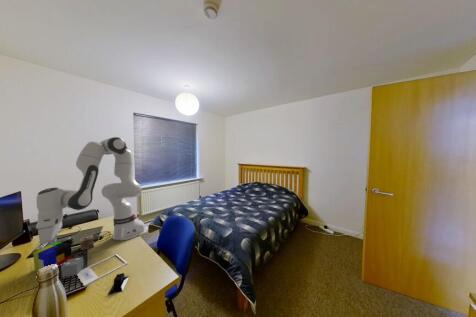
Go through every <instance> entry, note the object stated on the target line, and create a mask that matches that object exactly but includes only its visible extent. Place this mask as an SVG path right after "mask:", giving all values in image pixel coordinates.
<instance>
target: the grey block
mask: <svg viewBox="0 0 476 317" xmlns="http://www.w3.org/2000/svg"><path fill="white" fill-rule="evenodd" d="M84 266H85V264H84V256H81V257H76V258H72V259H69V260H68V261H67V262H66V263H65V264H64V265H63V266H61V267H60V269H61V270H60V271H61V278H62V277H65V276H72V277H74V276H73V275H77V274H78V273H79V272H80V271H81V270H82V269H84V268H85V267H84ZM83 267H84V268H83Z"/></svg>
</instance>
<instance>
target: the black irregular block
mask: <svg viewBox="0 0 476 317" xmlns="http://www.w3.org/2000/svg"><path fill="white" fill-rule="evenodd" d="M129 279H130V275H128V276H125V273H124V272H122V273H117V274H116V275H115V277H114V279H113V284H112V286H111V288H110V290H109V291H108V293H107V295H114V294H117V293H120V292H123V291H124V290H125V289H124V288H125V287H126V285H127V283H128V280H129Z"/></svg>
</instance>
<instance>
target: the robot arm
mask: <svg viewBox="0 0 476 317" xmlns="http://www.w3.org/2000/svg"><path fill="white" fill-rule="evenodd" d="M104 155H113V156H114V168H113V170H114V171H113V173H114V176H115V177H117V178H119V180H120V182H112V183H107V184H105V185H104V186H103V187H102V188H101V195H102V197H103V198H105V199H106V200H108V201H109V202H110V204H111V206H112V209H113V222H112V223H113V234H112V236H111V237H112V239H113V240H115V241H122V242H123V241H126V240H130V239H133V238H136V237H139V236H141V235H145V234H147V233H148V232H149V227H148V226H147V225H145V222H144V221H143V220H140V219H139V218H137V215H136V214H135V213H133V205H132V203H131V202H129V201H128V200H126V199H130V198H131V199H132V198H135V197H139V196H140V195H141V194H142V191H143V190H142V189H143V188H142V185H141V184H140V183H139V182H137V181H136V179H135V177H134V174H133V173H134V172H133V170H134V168H133V164H134V159H133V153H132V151H131V150H129V149H128V146H127V144H126V141H125V140H124V139H123V138H121V137H118V136H117V137H116V136H114V137H110V138H106V139H104V140H102V141H100V142H99V141H89V142H87V143H86V144H85V145H84V147H83V148H82V150H81V151H80V153H79V155H78V156H77V159H76V162H75V165H76V167H77V169H78V170H79V171H80V172H82V174H83V175H82V176H83V177H82V179H81V182H80V186H79V188H78V190H72V189H70V190H69V189H62V188H59V187H50V188H45V189H43V190H41V191H39V192H38V193H37V195H36V209H37V210H38V214H37V223H36V225H35V229H36V230H37V233H38V238H39V243H41V244H48V243H50V244H49V245H51V244H54V243H56V242H58V240H57V239H58V238H57V237H58V233H60V230H61V229H62V228H63V220H64V212H63V211H64V210H63V209H65V208H69V209H71V210H72V209H73V210H75V211H80V210H81V211H82V210H85V209H87V208H88V207H89V206H90V205H91V203H92V201H93V192H94V189H95V185H96V183H97V179H98V176H99V168H100V167H99V166H100V163H101V161H102V158H103V157H104ZM138 235H139V236H138Z"/></svg>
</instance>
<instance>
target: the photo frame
mask: <svg viewBox="0 0 476 317" xmlns="http://www.w3.org/2000/svg"><path fill="white" fill-rule="evenodd" d="M114 256H116V257H117V258H119V259H120V260H121V261H122V262H123V264H122V265H120V266H117V267H115V268H114V269H112V270H110V271H108V272H106V273H104V274H102V275H100V276H98V275H97V274H96V273H95V271H94V270H93V269H92V267H94V266H96V265H99V264H101V263H102V262H105V261H107V260H109V259H112V258H114ZM126 265H128V262H127V261H126V260H124V259H123V258H122V257H121V256H120V255H118V254H117V253H115V254H113V255H110V256H109V257H106V258H105V259H102V260H99V261H98V262H95V263H94V264H91V265H89V266H87V267H84V268H83V269H82V270H81V271H80V272H79V273H78V274H77V276H78V277H77V276H76V277H77V278H78V280H79V279H80V283H81V284H82V283H83V284H82V286H83V287H84V286H85V287H86V286H89V285H90V284H92V283H94V282H96V281H98V280H99V279H102V278H103V277H105V276H107V275H109V274H111V273H113V272H115V271H116V270H117V271H118V270H119V269H121V268H123V267H124V266H126Z"/></svg>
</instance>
